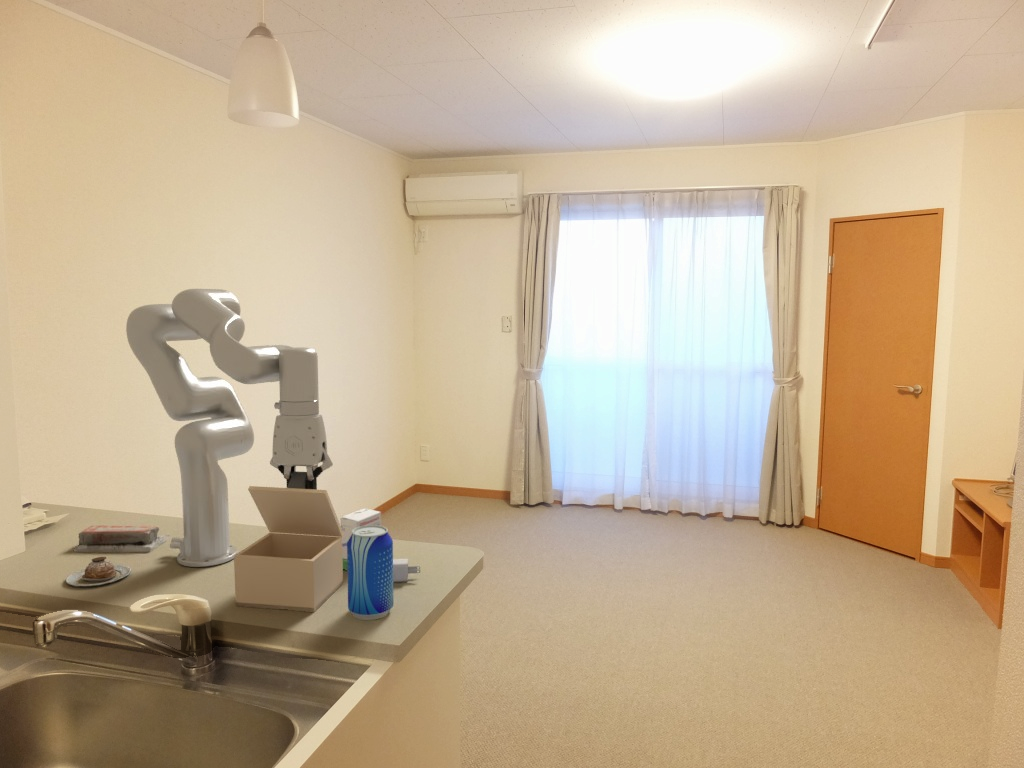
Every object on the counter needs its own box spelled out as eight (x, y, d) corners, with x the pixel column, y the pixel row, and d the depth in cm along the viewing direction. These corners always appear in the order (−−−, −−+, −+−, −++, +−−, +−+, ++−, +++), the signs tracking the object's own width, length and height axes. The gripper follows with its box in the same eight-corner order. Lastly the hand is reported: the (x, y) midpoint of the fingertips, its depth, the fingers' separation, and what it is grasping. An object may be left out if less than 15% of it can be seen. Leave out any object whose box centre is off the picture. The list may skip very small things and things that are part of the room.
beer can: (361, 600, 141) (360, 521, 139) (400, 606, 138) (400, 525, 137) (339, 618, 133) (338, 534, 131) (380, 624, 130) (379, 539, 129)
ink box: (358, 573, 155) (357, 520, 154) (340, 569, 157) (339, 517, 156) (382, 561, 162) (382, 510, 161) (365, 557, 165) (364, 507, 163)
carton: (235, 606, 138) (233, 555, 137) (270, 578, 151) (269, 532, 150) (314, 612, 135) (313, 561, 134) (342, 583, 149) (342, 537, 148)
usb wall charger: (387, 576, 154) (387, 558, 153) (420, 575, 155) (420, 557, 154) (386, 583, 150) (386, 564, 149) (420, 582, 151) (420, 563, 150)
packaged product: (71, 533, 166) (95, 521, 176) (72, 554, 166) (96, 540, 176) (150, 533, 166) (169, 521, 176) (151, 554, 167) (170, 540, 177)
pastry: (104, 592, 145) (103, 570, 144) (51, 588, 146) (50, 567, 146) (143, 571, 156) (142, 550, 156) (94, 567, 158) (92, 547, 158)
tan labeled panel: (248, 489, 141) (261, 463, 146) (269, 532, 150) (281, 506, 155) (325, 493, 139) (335, 466, 144) (342, 536, 148) (351, 510, 153)
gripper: (252, 410, 143) (255, 500, 145) (330, 412, 140) (332, 504, 142) (271, 405, 150) (274, 490, 152) (345, 407, 147) (347, 494, 149)
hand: (302, 496), depth 147 cm, fingers closed on tan labeled panel, 3 cm apart
